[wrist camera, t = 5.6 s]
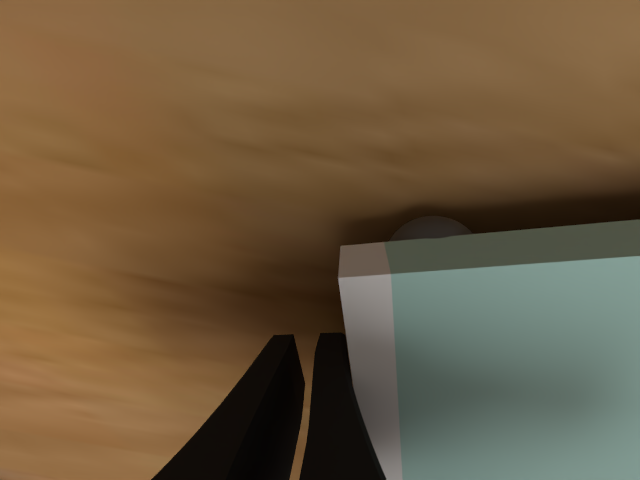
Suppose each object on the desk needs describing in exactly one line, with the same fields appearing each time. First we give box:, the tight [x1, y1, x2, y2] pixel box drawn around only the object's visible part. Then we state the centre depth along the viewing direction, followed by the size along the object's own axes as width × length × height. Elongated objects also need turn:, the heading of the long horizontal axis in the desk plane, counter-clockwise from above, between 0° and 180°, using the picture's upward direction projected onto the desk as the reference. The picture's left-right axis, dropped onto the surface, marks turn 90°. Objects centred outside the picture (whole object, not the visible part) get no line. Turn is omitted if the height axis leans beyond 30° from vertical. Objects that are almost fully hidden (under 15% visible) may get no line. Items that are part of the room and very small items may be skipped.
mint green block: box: [338, 216, 640, 480], centre depth 8 cm, size 8×11×3 cm
